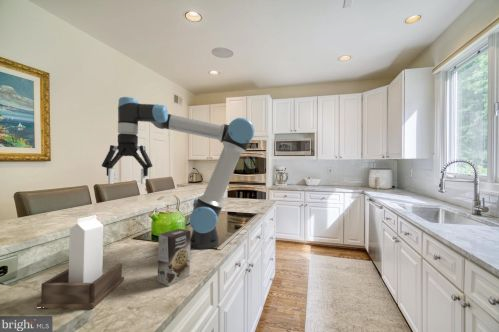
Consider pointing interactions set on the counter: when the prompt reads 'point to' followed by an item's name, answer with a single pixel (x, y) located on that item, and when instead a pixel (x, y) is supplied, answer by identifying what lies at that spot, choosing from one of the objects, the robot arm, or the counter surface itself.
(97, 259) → the milk
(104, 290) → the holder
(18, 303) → the counter surface
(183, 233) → the cookie box
